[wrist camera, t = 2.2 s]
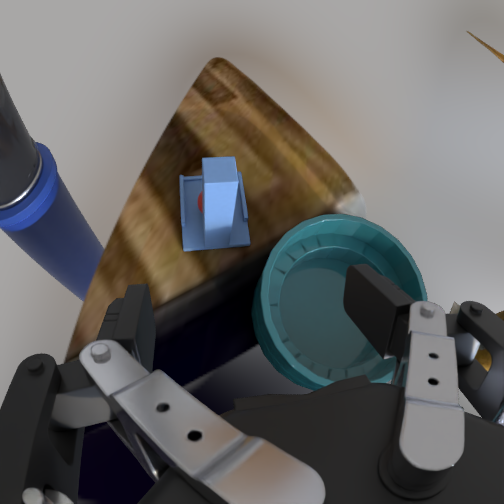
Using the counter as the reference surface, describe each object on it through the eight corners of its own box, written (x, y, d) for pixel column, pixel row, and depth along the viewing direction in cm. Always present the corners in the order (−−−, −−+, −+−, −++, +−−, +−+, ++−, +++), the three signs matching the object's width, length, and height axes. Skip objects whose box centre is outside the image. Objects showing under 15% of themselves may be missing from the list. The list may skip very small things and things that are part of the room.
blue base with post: (250, 246, 33) (268, 180, 23) (183, 251, 31) (173, 186, 21) (239, 178, 36) (251, 103, 26) (180, 181, 35) (173, 106, 25)
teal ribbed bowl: (264, 405, 26) (277, 409, 21) (241, 248, 32) (248, 218, 27) (407, 371, 29) (443, 364, 24) (375, 238, 35) (400, 211, 29)
